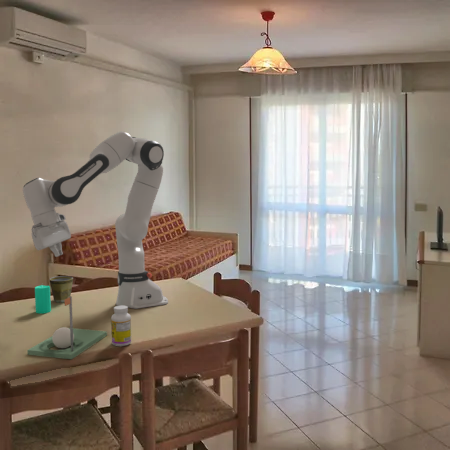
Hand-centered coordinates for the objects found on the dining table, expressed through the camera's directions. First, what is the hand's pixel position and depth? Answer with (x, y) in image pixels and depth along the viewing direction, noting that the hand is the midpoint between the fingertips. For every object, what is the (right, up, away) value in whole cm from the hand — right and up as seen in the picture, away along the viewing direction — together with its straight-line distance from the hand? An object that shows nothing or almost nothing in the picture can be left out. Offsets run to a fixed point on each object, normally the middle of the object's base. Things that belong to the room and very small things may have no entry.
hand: (59, 255), depth 206 cm
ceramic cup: (-11, -22, +38) cm, 46 cm away
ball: (+8, -26, -23) cm, 36 cm away
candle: (-13, -24, +20) cm, 34 cm away
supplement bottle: (+27, -29, -19) cm, 44 cm away
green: (+9, -29, -20) cm, 36 cm away
